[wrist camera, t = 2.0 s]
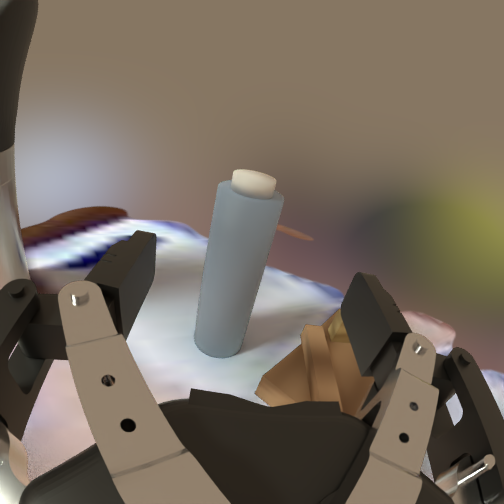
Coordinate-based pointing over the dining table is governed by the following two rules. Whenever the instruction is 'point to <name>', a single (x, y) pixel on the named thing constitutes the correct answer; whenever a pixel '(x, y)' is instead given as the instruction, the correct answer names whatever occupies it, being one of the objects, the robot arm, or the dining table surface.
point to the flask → (235, 260)
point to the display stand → (317, 370)
